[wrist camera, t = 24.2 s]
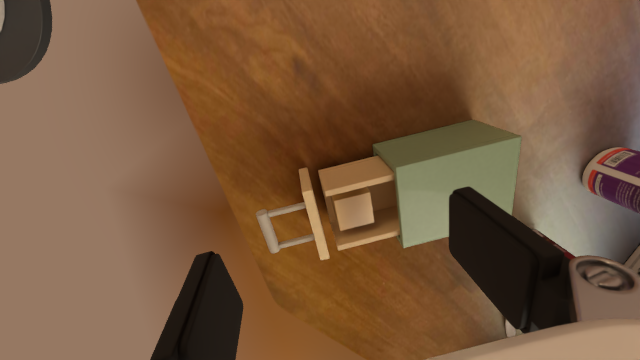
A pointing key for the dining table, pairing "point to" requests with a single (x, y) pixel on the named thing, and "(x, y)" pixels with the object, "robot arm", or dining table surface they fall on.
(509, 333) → the spoon
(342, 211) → the block
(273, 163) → the dining table surface
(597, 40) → the dining table surface
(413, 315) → the dining table surface
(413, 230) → the cabinet
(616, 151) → the pill bottle
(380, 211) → the drawer
